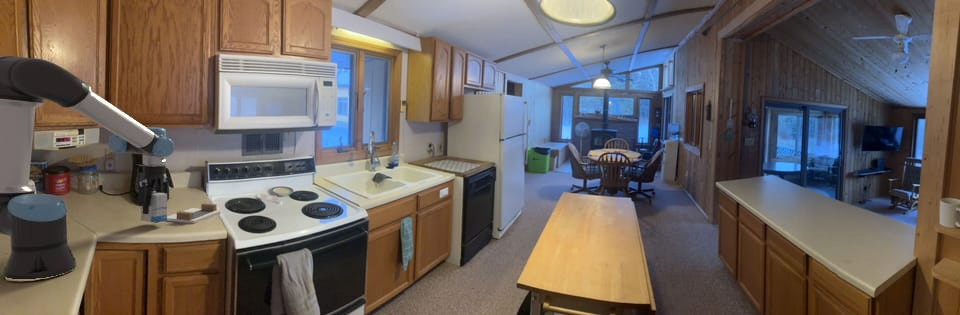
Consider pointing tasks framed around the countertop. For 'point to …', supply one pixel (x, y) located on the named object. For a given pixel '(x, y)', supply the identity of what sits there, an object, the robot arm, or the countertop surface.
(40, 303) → the countertop surface
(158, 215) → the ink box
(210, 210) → the board
